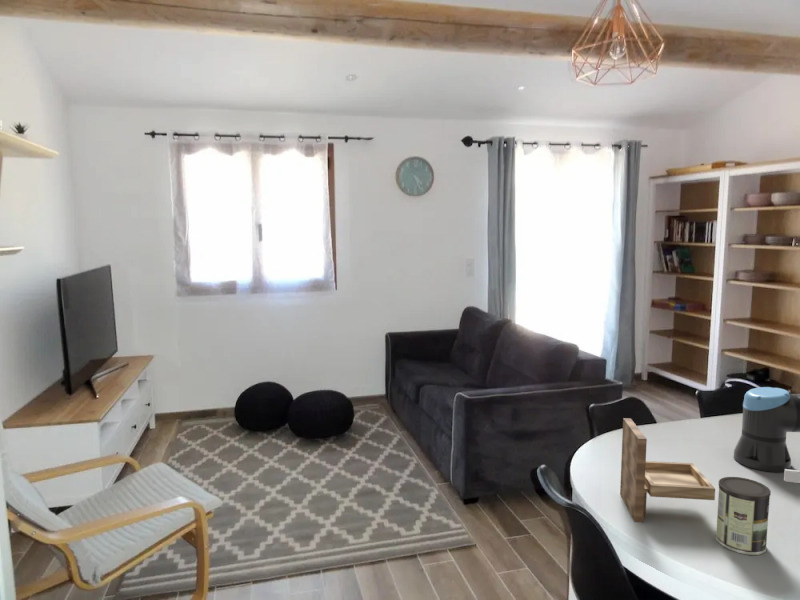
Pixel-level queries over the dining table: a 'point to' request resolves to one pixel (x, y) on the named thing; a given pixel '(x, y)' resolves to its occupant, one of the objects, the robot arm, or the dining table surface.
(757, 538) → the coffee can
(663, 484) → the bracket
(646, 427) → the dining table surface
